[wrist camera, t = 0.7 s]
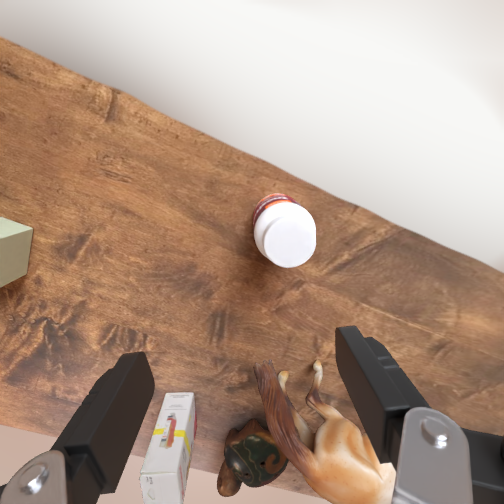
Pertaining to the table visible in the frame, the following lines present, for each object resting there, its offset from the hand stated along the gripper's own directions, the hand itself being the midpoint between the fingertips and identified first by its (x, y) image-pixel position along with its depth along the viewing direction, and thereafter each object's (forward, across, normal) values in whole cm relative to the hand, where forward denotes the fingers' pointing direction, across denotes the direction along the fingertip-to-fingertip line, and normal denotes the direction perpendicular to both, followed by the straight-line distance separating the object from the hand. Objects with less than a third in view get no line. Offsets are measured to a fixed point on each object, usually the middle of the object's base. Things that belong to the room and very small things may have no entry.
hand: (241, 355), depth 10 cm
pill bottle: (+23, -4, 0) cm, 24 cm away
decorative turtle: (+23, +4, +39) cm, 45 cm away
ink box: (+23, +15, +31) cm, 42 cm away
